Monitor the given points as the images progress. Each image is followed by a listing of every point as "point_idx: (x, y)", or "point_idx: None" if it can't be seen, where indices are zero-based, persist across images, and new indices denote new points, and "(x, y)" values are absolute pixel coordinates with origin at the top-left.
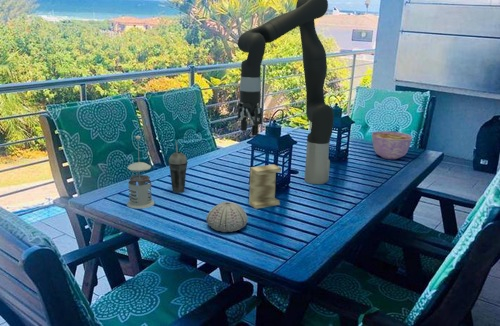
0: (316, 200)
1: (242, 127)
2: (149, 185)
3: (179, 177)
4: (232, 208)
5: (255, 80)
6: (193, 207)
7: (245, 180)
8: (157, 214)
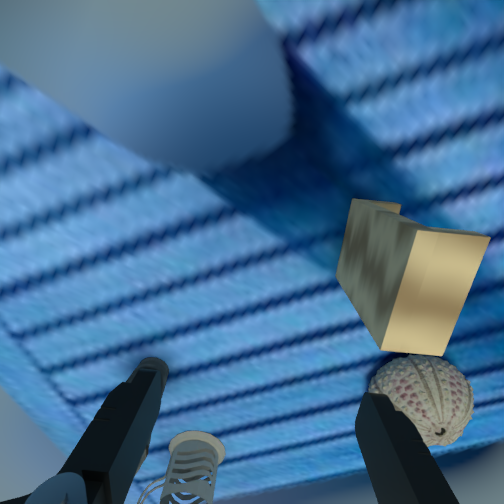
0: (459, 49)
1: (146, 435)
2: (206, 493)
3: None
4: (461, 428)
5: None
6: (273, 387)
7: (135, 156)
8: (269, 449)
